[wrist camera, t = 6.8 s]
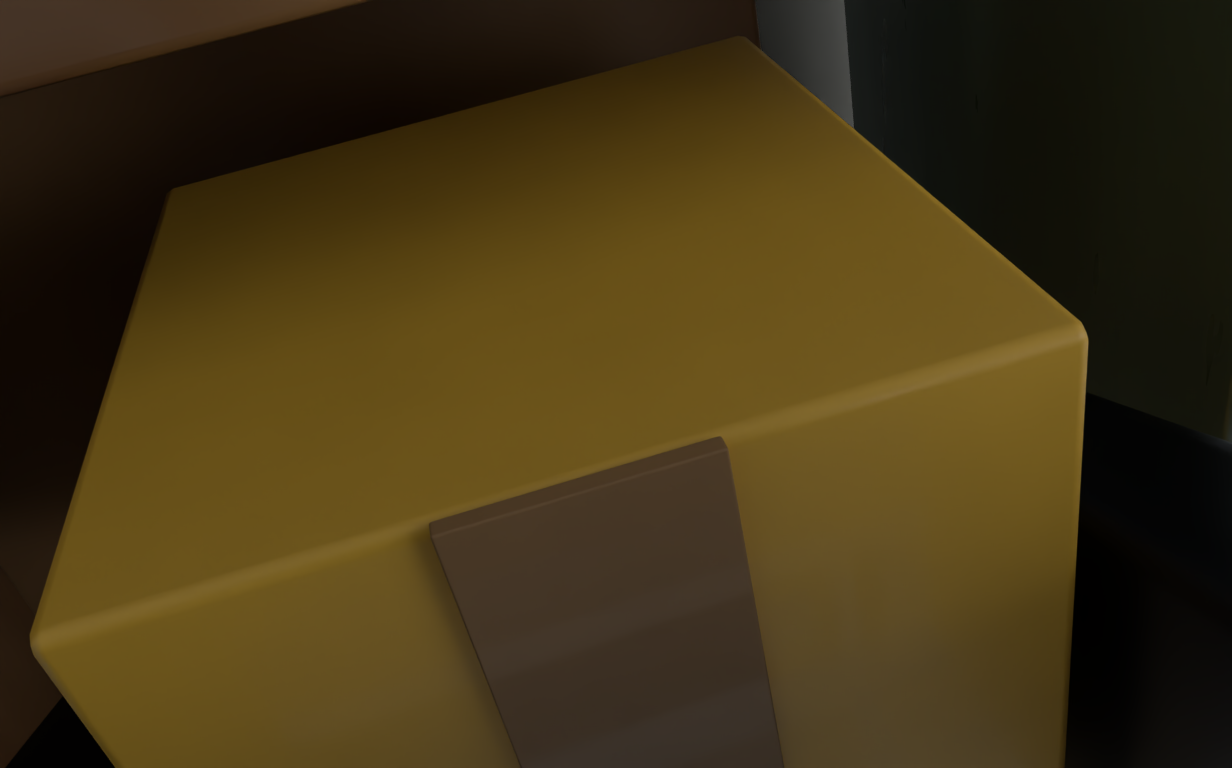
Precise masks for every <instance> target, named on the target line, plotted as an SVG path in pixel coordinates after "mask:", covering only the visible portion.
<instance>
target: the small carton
mask: <svg viewBox="0 0 1232 768" xmlns="http://www.w3.org/2000/svg"><path fill="white" fill-rule="evenodd" d="M1087 358H1088V337H1087V333H1086V331H1085V329H1084V326H1083V324H1082V322H1081V321H1079V320H1078V319H1077V318H1076V317H1075V316H1074V315H1072V314H1071V313H1070V312H1069V311H1068V310H1066V309H1065V308H1064V307H1063V306H1062V305H1061V304H1059V303H1058V302H1057V301H1056V300H1055V299H1054V298H1052V297H1051V296H1050V295H1049V294H1048V293H1046V292H1045V291H1044V290H1043V289H1042V288H1041V287H1039V286H1038V285H1037V284H1036V283H1035V282H1034V281H1032V280H1031V279H1030V278H1029V277H1028V276H1026V275H1025V274H1024V273H1023V272H1022V271H1021V270H1019V269H1018V268H1017V267H1016V266H1015V265H1013V264H1012V263H1011V262H1010V261H1009V260H1008V259H1006V258H1005V257H1004V256H1003V255H1002V254H1001V253H999V252H998V251H997V250H996V249H995V248H993V247H992V246H991V245H990V244H989V243H988V242H986V241H985V240H984V239H983V238H982V237H980V236H979V235H978V234H977V233H976V232H975V231H973V230H972V229H971V228H970V227H969V226H968V225H966V224H965V223H964V222H963V221H962V220H960V219H959V218H958V217H957V216H956V215H955V214H953V213H952V212H951V211H950V210H949V209H948V208H946V207H945V206H944V205H943V204H942V203H940V202H939V201H938V200H937V199H936V198H935V197H933V196H932V195H931V194H930V193H929V192H927V191H926V190H925V189H924V188H923V187H922V186H920V185H919V184H918V183H917V182H916V181H915V180H913V179H912V178H911V177H910V176H909V175H907V174H906V173H905V172H904V171H903V170H902V169H900V168H899V167H898V166H897V165H896V164H895V163H893V162H892V161H891V160H890V159H889V158H887V157H886V156H885V155H884V154H883V153H882V152H880V151H879V150H878V149H877V148H876V147H874V146H873V145H872V144H871V143H870V142H869V141H867V140H866V139H865V138H864V137H863V136H862V135H860V134H859V133H858V132H857V131H856V130H854V129H853V128H852V127H851V126H850V125H849V124H847V123H846V122H845V121H844V120H843V119H841V118H840V117H839V116H838V115H837V114H836V113H834V112H833V111H832V110H831V109H830V108H829V107H827V106H826V105H825V104H824V103H823V102H821V101H820V100H819V99H818V98H817V97H816V96H814V95H813V94H812V93H811V92H810V91H809V90H807V89H806V88H805V87H804V86H803V85H801V84H800V83H799V82H798V81H797V80H796V79H794V78H793V77H792V76H791V75H790V74H788V73H787V72H786V71H785V70H784V69H783V68H781V67H780V66H779V65H778V64H777V63H776V62H774V61H773V60H772V59H771V58H770V57H768V56H767V55H766V54H765V53H764V52H763V51H761V50H760V49H759V48H758V47H757V46H756V45H754V44H753V43H752V42H751V41H750V40H748V39H747V38H746V37H743V36H735V37H732V38H728V39H724V40H721V41H717V42H713V43H710V44H706V45H702V46H698V47H695V48H691V49H687V50H684V51H680V52H676V53H673V54H669V55H665V56H661V57H658V58H654V59H650V60H647V61H643V62H639V63H636V64H632V65H628V66H624V67H621V68H617V69H613V70H610V71H606V72H602V73H599V74H595V75H591V76H588V77H584V78H580V79H576V80H573V81H569V82H565V83H562V84H558V85H554V86H551V87H547V88H543V89H539V90H536V91H532V92H528V93H525V94H521V95H517V96H514V97H510V98H506V99H502V100H499V101H495V102H491V103H488V104H484V105H480V106H477V107H473V108H469V109H466V110H462V111H458V112H454V113H451V114H447V115H443V116H440V117H436V118H432V119H429V120H425V121H421V122H417V123H414V124H410V125H406V126H403V127H399V128H395V129H392V130H388V131H384V132H380V133H377V134H373V135H369V136H366V137H362V138H358V139H355V140H351V141H347V142H344V143H340V144H336V145H332V146H329V147H325V148H321V149H318V150H314V151H310V152H307V153H303V154H299V155H295V156H292V157H288V158H284V159H281V160H277V161H273V162H270V163H266V164H262V165H258V166H255V167H251V168H247V169H244V170H240V171H236V172H233V173H229V174H225V175H222V176H218V177H214V178H210V179H207V180H203V181H199V182H196V183H192V184H188V185H185V186H181V187H177V188H173V189H172V190H171V191H169V192H168V193H167V194H166V197H165V201H164V204H163V207H162V210H161V213H160V217H159V220H158V223H157V226H156V230H155V233H154V236H153V239H152V242H151V246H150V249H149V252H148V255H147V259H146V262H145V265H144V268H143V271H142V275H141V278H140V281H139V284H138V288H137V291H136V294H135V297H134V300H133V304H132V307H131V310H130V313H129V317H128V320H127V323H126V326H125V329H124V333H123V336H122V339H121V342H120V346H119V349H118V352H117V355H116V358H115V362H114V365H113V368H112V371H111V374H110V378H109V381H108V384H107V387H106V391H105V394H104V397H103V400H102V403H101V407H100V410H99V413H98V416H97V420H96V423H95V426H94V429H93V432H92V436H91V439H90V442H89V445H88V449H87V452H86V455H85V458H84V461H83V465H82V468H81V471H80V474H79V478H78V481H77V484H76V487H75V490H74V494H73V497H72V500H71V503H70V507H69V510H68V513H67V516H66V519H65V523H64V526H63V529H62V532H61V536H60V539H59V542H58V545H57V548H56V552H55V555H54V558H53V561H52V564H51V568H50V571H49V574H48V577H47V581H46V584H45V587H44V590H43V593H42V597H41V600H40V603H39V606H38V610H37V613H36V616H35V619H34V622H33V626H32V629H31V632H30V645H31V649H32V652H33V655H34V657H35V658H36V659H37V661H38V662H39V664H40V665H41V666H42V668H43V669H44V670H45V672H46V673H47V675H48V676H49V677H50V679H51V680H52V681H53V683H54V684H55V686H56V687H57V688H58V690H59V691H60V692H61V694H62V695H63V696H64V698H65V699H66V701H67V702H68V703H69V705H70V706H71V707H72V709H73V710H74V712H75V713H76V714H77V716H78V717H79V718H80V720H81V721H82V723H83V724H84V725H85V727H86V728H87V729H88V731H89V732H90V734H91V735H92V736H93V738H94V739H95V740H96V742H97V743H98V745H99V746H100V747H101V749H102V750H103V751H104V753H105V754H106V756H107V757H108V758H109V760H110V761H111V762H112V764H113V765H114V766H115V768H1065V752H1066V734H1067V716H1068V698H1069V680H1070V662H1071V645H1072V627H1073V609H1074V591H1075V573H1076V555H1077V537H1078V519H1079V501H1080V483H1081V466H1082V448H1083V430H1084V412H1085V394H1086V376H1087Z"/></svg>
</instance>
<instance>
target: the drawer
mask: <svg viewBox="0 0 1232 768" xmlns="http://www.w3.org/2000/svg"><path fill="white" fill-rule="evenodd" d="M844 3H845V16H846V29H847V42H848V55H849V68H850V81H851V94H852V107H853V119H854V130H856V131H857V132H858V133H859V134H860V135H862V136H863V137H864V138H865V139H866V140H867V141H869V142H870V143H871V144H872V145H873V146H874V147H876V148H877V149H878V150H879V151H880V152H882V153H883V154H884V155H885V156H886V157H887V158H889V159H890V160H891V161H892V162H893V163H895V164H896V165H897V166H898V167H899V168H900V169H902V170H903V171H904V172H905V173H906V174H907V175H909V176H910V177H911V178H912V179H913V180H915V181H916V182H917V183H918V184H919V185H920V186H922V187H923V188H924V189H925V190H926V191H927V192H929V193H930V194H931V195H932V196H933V197H935V198H936V199H937V200H938V201H939V202H940V203H942V204H943V205H944V206H945V207H946V208H948V209H949V210H950V211H951V212H952V213H953V214H955V215H956V216H957V217H958V218H959V219H960V220H962V221H963V222H964V223H965V224H966V225H968V226H969V227H970V228H971V229H972V230H973V231H975V232H976V233H977V234H978V235H979V236H980V237H982V238H983V239H984V240H985V241H986V242H988V243H989V244H990V245H991V246H992V247H993V248H995V249H996V250H997V251H998V252H999V253H1001V254H1002V255H1003V256H1004V257H1005V258H1006V259H1008V260H1009V261H1010V262H1011V263H1012V264H1013V265H1015V266H1016V267H1017V268H1018V269H1019V270H1021V271H1022V272H1023V273H1024V274H1025V275H1026V276H1028V277H1029V278H1030V279H1031V280H1032V281H1034V282H1035V283H1036V284H1037V285H1038V286H1039V287H1041V288H1042V289H1043V290H1044V291H1045V292H1046V293H1048V294H1049V295H1050V296H1051V297H1052V298H1054V299H1055V300H1056V301H1057V302H1058V303H1059V304H1061V305H1062V306H1063V307H1064V308H1065V309H1066V310H1068V311H1069V312H1070V313H1071V314H1072V315H1074V316H1075V317H1076V318H1077V319H1078V320H1079V321H1081V322H1082V324H1083V326H1084V329H1085V331H1086V333H1087V337H1088V358H1087V376H1086V392H1088V393H1091V394H1094V395H1096V396H1099V397H1102V398H1105V399H1108V400H1111V401H1114V402H1116V403H1119V404H1122V405H1125V406H1128V407H1131V408H1134V409H1136V410H1139V411H1142V412H1145V413H1148V414H1151V415H1154V416H1156V417H1159V418H1162V419H1165V420H1168V421H1171V422H1174V423H1176V424H1179V425H1182V426H1185V427H1188V428H1191V429H1194V430H1197V431H1199V432H1202V433H1205V434H1208V435H1211V436H1214V437H1217V438H1219V439H1222V440H1225V441H1228V442H1231V443H1232V0H844ZM735 36H743V37H746V38H747V39H748V40H750V41H751V42H752V43H753V44H754V45H756V46H757V47H758V48H759V49H760V50H761V42H760V33H759V25H758V17H757V9H756V1H755V0H0V768H5V767H6V766H7V765H8V764H9V762H10V761H11V760H12V759H13V757H14V756H15V755H16V754H17V752H18V751H19V750H20V749H21V747H22V746H23V745H24V744H25V742H26V741H27V740H28V739H29V737H30V736H31V735H32V734H33V732H34V731H35V730H36V729H37V727H38V726H39V725H40V724H41V722H42V721H43V720H44V719H45V717H46V716H47V715H48V714H49V712H50V711H51V710H52V709H53V707H54V706H55V705H56V704H57V702H58V701H59V700H60V699H61V697H62V696H63V695H62V694H61V692H60V691H59V690H58V688H57V687H56V686H55V684H54V683H53V681H52V680H51V679H50V677H49V676H48V675H47V673H46V672H45V670H44V669H43V668H42V666H41V665H40V664H39V662H38V661H37V659H36V658H35V657H34V655H33V652H32V649H31V645H30V632H31V629H32V626H33V622H34V619H35V616H36V613H37V610H38V606H39V603H40V600H41V597H42V593H43V590H44V587H45V584H46V581H47V577H48V574H49V571H50V568H51V564H52V561H53V558H54V555H55V552H56V548H57V545H58V542H59V539H60V536H61V532H62V529H63V526H64V523H65V519H66V516H67V513H68V510H69V507H70V503H71V500H72V497H73V494H74V490H75V487H76V484H77V481H78V478H79V474H80V471H81V468H82V465H83V461H84V458H85V455H86V452H87V449H88V445H89V442H90V439H91V436H92V432H93V429H94V426H95V423H96V420H97V416H98V413H99V410H100V407H101V403H102V400H103V397H104V394H105V391H106V387H107V384H108V381H109V378H110V374H111V371H112V368H113V365H114V362H115V358H116V355H117V352H118V349H119V346H120V342H121V339H122V336H123V333H124V329H125V326H126V323H127V320H128V317H129V313H130V310H131V307H132V304H133V300H134V297H135V294H136V291H137V288H138V284H139V281H140V278H141V275H142V271H143V268H144V265H145V262H146V259H147V255H148V252H149V249H150V246H151V242H152V239H153V236H154V233H155V230H156V226H157V223H158V220H159V217H160V213H161V210H162V207H163V204H164V201H165V197H166V194H167V193H168V192H169V191H171V190H172V189H173V188H177V187H181V186H185V185H188V184H192V183H196V182H199V181H203V180H207V179H210V178H214V177H218V176H222V175H225V174H229V173H233V172H236V171H240V170H244V169H247V168H251V167H255V166H258V165H262V164H266V163H270V162H273V161H277V160H281V159H284V158H288V157H292V156H295V155H299V154H303V153H307V152H310V151H314V150H318V149H321V148H325V147H329V146H332V145H336V144H340V143H344V142H347V141H351V140H355V139H358V138H362V137H366V136H369V135H373V134H377V133H380V132H384V131H388V130H392V129H395V128H399V127H403V126H406V125H410V124H414V123H417V122H421V121H425V120H429V119H432V118H436V117H440V116H443V115H447V114H451V113H454V112H458V111H462V110H466V109H469V108H473V107H477V106H480V105H484V104H488V103H491V102H495V101H499V100H502V99H506V98H510V97H514V96H517V95H521V94H525V93H528V92H532V91H536V90H539V89H543V88H547V87H551V86H554V85H558V84H562V83H565V82H569V81H573V80H576V79H580V78H584V77H588V76H591V75H595V74H599V73H602V72H606V71H610V70H613V69H617V68H621V67H624V66H628V65H632V64H636V63H639V62H643V61H647V60H650V59H654V58H658V57H661V56H665V55H669V54H673V53H676V52H680V51H684V50H687V49H691V48H695V47H698V46H702V45H706V44H710V43H713V42H717V41H721V40H724V39H728V38H732V37H735ZM761 51H762V50H761Z"/></svg>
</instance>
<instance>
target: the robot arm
mask: <svg viewBox="0 0 1232 768" xmlns="http://www.w3.org/2000/svg"><path fill="white" fill-rule="evenodd" d="M5 768H115V766H114V765H113V764H112V762H111V761H110V760H109V758H108V757H107V756H106V754H105V753H104V751H103V750H102V749H101V747H100V746H99V745H98V743H97V742H96V740H95V739H94V738H93V736H92V735H91V734H90V732H89V731H88V729H87V728H86V727H85V725H84V724H83V723H82V721H81V720H80V718H79V717H78V716H77V714H76V713H75V712H74V710H73V709H72V707H71V706H70V705H69V703H68V702H67V701H66V699H65V698H64V696H62V697H61V699H60V700H59V701H58V702H57V704H56V705H55V706H54V707H53V709H52V710H51V711H50V712H49V714H48V715H47V716H46V717H45V719H44V720H43V721H42V722H41V724H40V725H39V726H38V727H37V729H36V730H35V731H34V732H33V734H32V735H31V736H30V737H29V739H28V740H27V741H26V742H25V744H24V745H23V746H22V747H21V749H20V750H19V751H18V752H17V754H16V755H15V756H14V757H13V759H12V760H11V761H10V762H9V764H8V765H7V766H6V767H5ZM1065 768H1232V443H1231V442H1228V441H1225V440H1222V439H1219V438H1217V437H1214V436H1211V435H1208V434H1205V433H1202V432H1199V431H1197V430H1194V429H1191V428H1188V427H1185V426H1182V425H1179V424H1176V423H1174V422H1171V421H1168V420H1165V419H1162V418H1159V417H1156V416H1154V415H1151V414H1148V413H1145V412H1142V411H1139V410H1136V409H1134V408H1131V407H1128V406H1125V405H1122V404H1119V403H1116V402H1114V401H1111V400H1108V399H1105V398H1102V397H1099V396H1096V395H1094V394H1091V393H1088V392H1086V394H1085V412H1084V430H1083V448H1082V466H1081V483H1080V501H1079V519H1078V537H1077V555H1076V573H1075V591H1074V609H1073V627H1072V645H1071V662H1070V680H1069V698H1068V716H1067V734H1066V752H1065Z"/></svg>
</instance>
